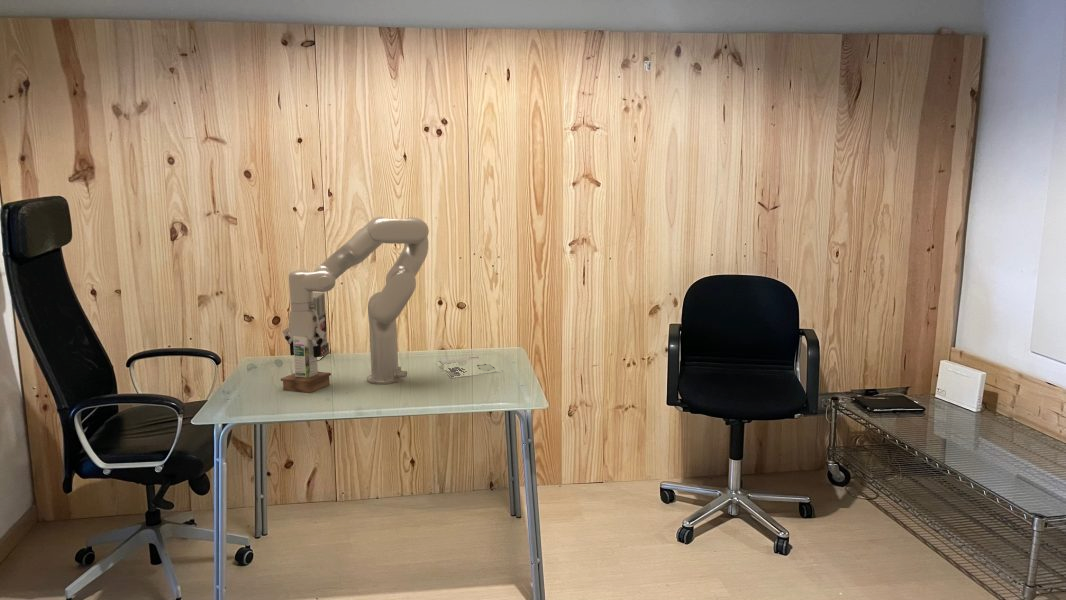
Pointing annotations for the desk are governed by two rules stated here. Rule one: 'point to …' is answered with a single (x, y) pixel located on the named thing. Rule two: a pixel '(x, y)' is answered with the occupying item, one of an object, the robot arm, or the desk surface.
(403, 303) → the robot arm
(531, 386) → the desk surface
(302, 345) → the syrup box
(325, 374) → the walnut stand
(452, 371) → the office telephone
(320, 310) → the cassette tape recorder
